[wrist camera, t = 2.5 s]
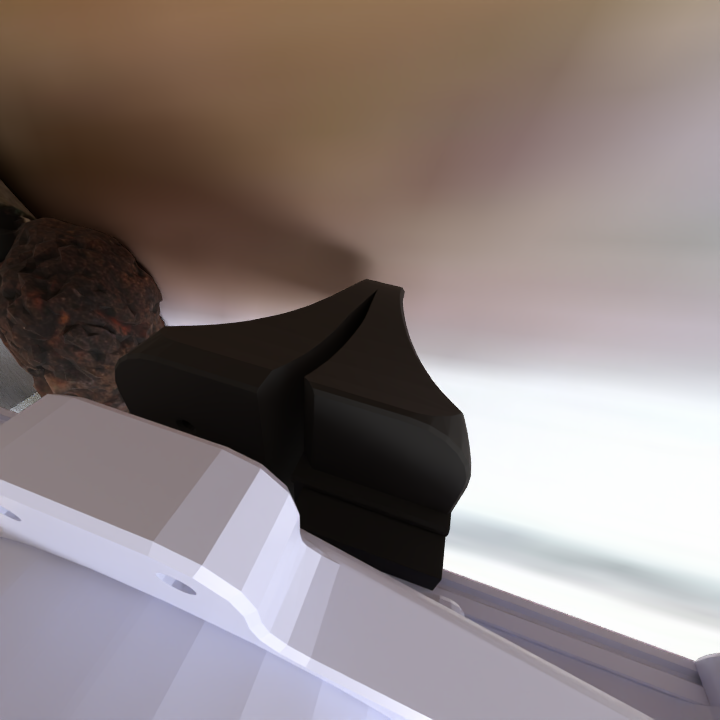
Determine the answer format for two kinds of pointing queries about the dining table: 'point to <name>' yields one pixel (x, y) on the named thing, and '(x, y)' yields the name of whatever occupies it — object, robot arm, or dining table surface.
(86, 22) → the dining table surface
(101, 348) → the brown elongated piece
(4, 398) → the gray angular bracket
